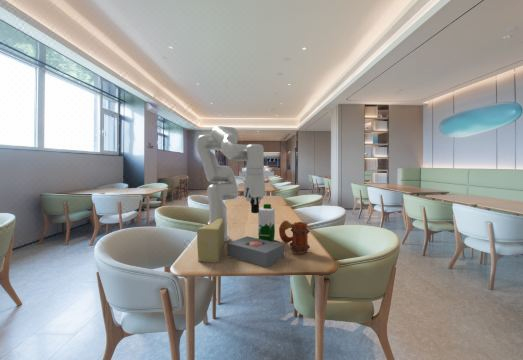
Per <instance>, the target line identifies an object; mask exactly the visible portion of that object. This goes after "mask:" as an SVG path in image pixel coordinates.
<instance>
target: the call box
mask: <svg viewBox="0 0 523 360" xmlns="http://www.w3.org/2000/svg"><path fill="white" fill-rule="evenodd" d="M252 241H260V242H262V245H261V246H258V247H254V246H250V245H249V242H252ZM226 243H227V246H226V249H227V254H226V256H227V257H230V258H234V259H236V260H239V261H244V262H246V263H250V264H254V265H257V266H260V267H263V268H267V267H270V266H271V265H273V264H275V263H277V262H278V261H280V260H282V259H284V258H285V243H279V242H275V241H273V242H271V241H266V240H262V239H259V238H256V237H252V236H248V235H247V236H243V237H242V238H239V239H235V240H232V241H230V242H229V241H228V242H226Z"/></svg>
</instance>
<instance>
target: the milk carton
mask: <svg viewBox="0 0 523 360" xmlns="http://www.w3.org/2000/svg"><path fill="white" fill-rule="evenodd" d="M275 209H276V208H275V207H272V204H270V203H263V207H259V213H257V218H258V219H257V220H258V221H257V227H258V228H257V235H258V239H262V240H266V241H271V242H275V233H276V214H275V211H276V210H275Z"/></svg>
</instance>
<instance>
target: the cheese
mask: <svg viewBox="0 0 523 360" xmlns="http://www.w3.org/2000/svg"><path fill="white" fill-rule="evenodd" d="M196 234H197V235H196V237H197V238H196V239H197V240H196V242H197V243H196V244H197V245H196V246H197V258H198V259H197V260H198V261H199V262H201V261H202V263H219V262H220V257H221V254H222V251H223V250H224V248H225V242H224V221H223V219H217V220H215V221H214V222H212V223H210V222H209V224H207V225H204V226H201V227H199V228H197V229H196Z"/></svg>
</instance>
